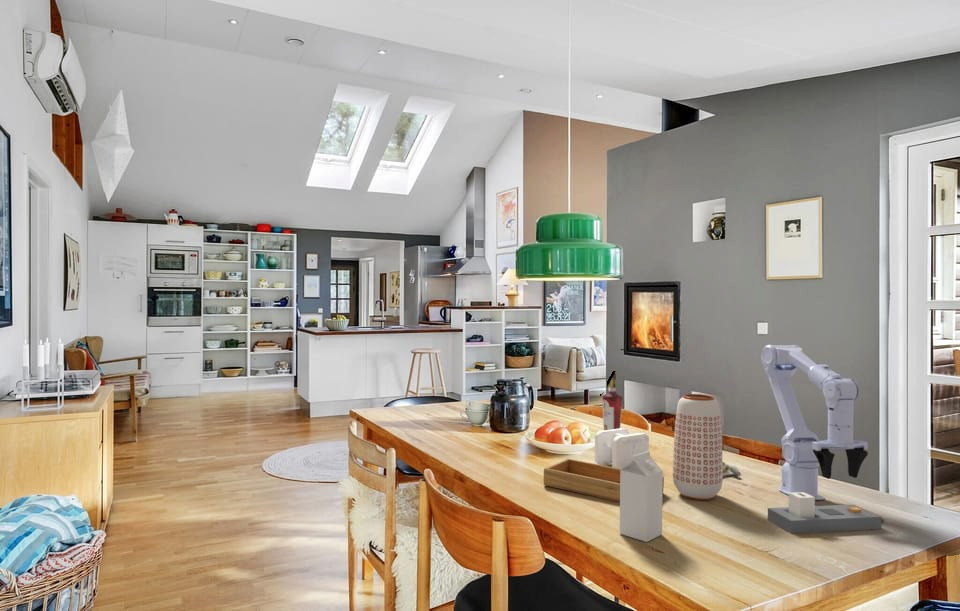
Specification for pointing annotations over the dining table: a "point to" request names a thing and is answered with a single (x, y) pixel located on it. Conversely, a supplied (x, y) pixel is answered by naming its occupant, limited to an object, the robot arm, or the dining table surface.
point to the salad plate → (729, 470)
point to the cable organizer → (619, 447)
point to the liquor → (612, 407)
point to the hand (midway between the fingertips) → (839, 477)
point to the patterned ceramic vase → (698, 447)
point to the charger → (801, 505)
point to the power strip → (826, 519)
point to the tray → (585, 478)
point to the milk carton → (641, 498)
